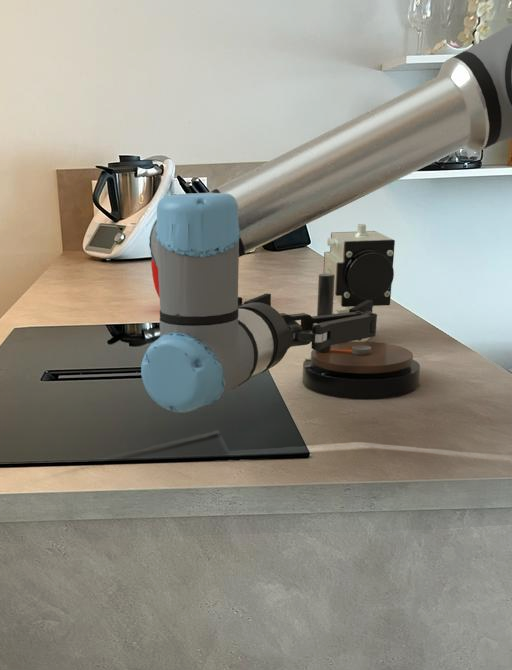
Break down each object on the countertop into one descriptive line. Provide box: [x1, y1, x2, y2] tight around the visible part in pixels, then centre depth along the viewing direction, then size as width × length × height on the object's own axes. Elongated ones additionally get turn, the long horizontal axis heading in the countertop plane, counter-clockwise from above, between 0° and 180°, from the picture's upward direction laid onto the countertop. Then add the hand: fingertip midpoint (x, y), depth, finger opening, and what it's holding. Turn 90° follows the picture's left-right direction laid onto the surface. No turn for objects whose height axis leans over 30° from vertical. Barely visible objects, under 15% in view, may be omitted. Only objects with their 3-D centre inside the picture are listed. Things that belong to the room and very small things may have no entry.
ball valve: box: [322, 223, 396, 342], centre depth 124 cm, size 18×8×18 cm, turn 177°
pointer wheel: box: [310, 273, 414, 374], centre depth 101 cm, size 13×13×11 cm
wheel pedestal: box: [302, 356, 421, 400], centre depth 104 cm, size 15×15×3 cm
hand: (317, 307), depth 100 cm, fingers open, 13 cm apart
